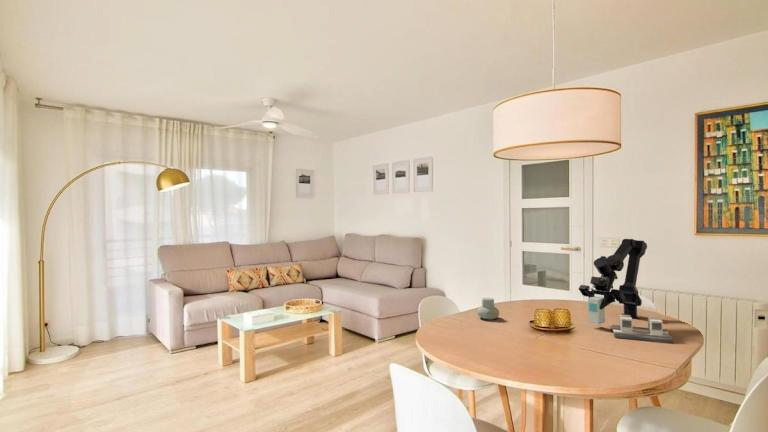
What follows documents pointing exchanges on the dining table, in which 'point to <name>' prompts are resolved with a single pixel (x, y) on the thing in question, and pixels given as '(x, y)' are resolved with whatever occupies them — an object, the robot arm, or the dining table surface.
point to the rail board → (641, 330)
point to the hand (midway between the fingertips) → (594, 308)
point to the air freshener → (488, 309)
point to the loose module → (596, 310)
